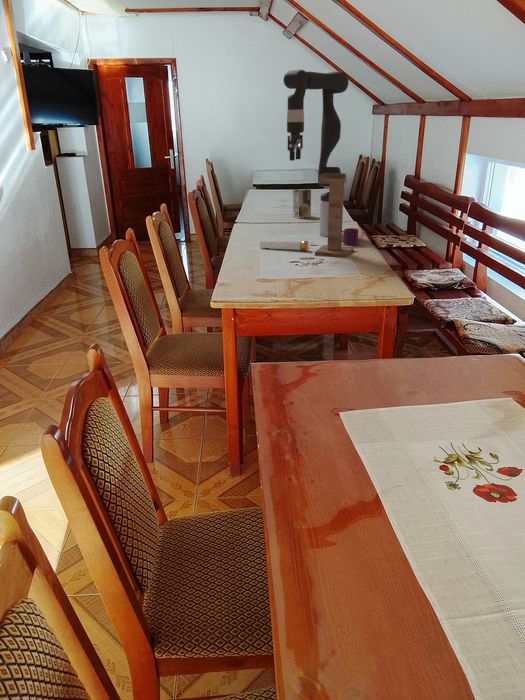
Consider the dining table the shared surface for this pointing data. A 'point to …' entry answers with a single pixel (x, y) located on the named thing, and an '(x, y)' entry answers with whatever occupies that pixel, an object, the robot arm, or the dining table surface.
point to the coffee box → (301, 203)
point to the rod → (285, 245)
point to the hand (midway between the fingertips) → (295, 159)
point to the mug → (350, 236)
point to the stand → (334, 216)
